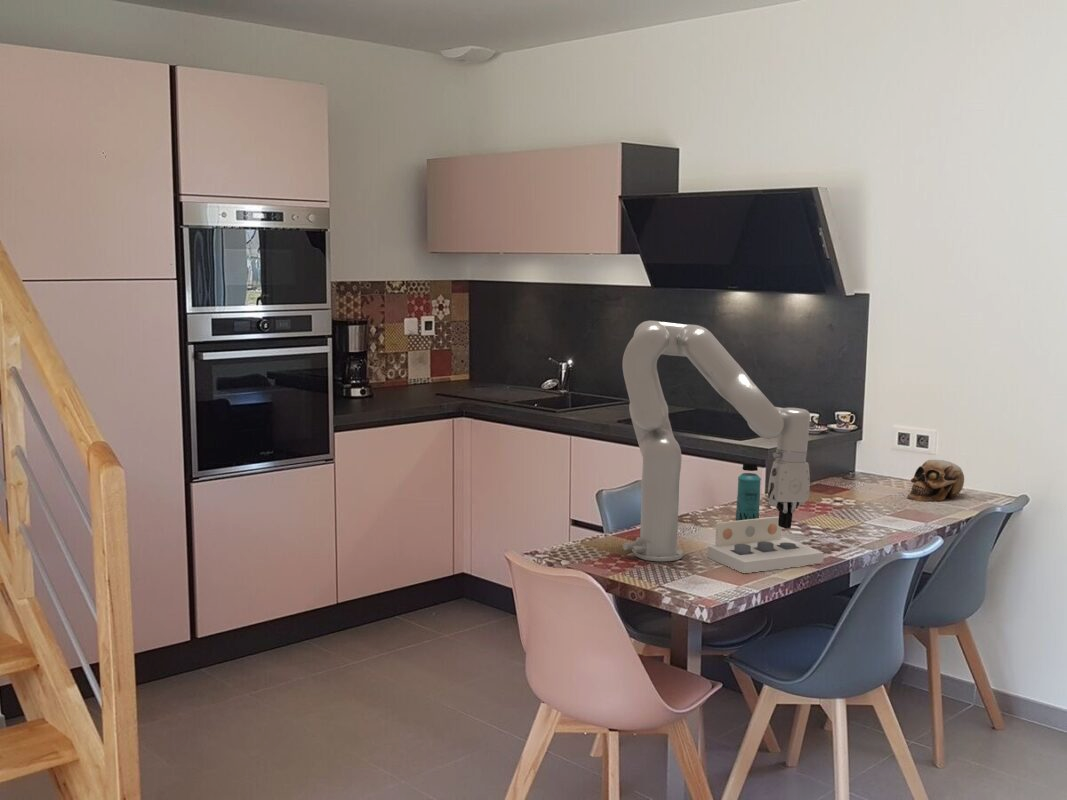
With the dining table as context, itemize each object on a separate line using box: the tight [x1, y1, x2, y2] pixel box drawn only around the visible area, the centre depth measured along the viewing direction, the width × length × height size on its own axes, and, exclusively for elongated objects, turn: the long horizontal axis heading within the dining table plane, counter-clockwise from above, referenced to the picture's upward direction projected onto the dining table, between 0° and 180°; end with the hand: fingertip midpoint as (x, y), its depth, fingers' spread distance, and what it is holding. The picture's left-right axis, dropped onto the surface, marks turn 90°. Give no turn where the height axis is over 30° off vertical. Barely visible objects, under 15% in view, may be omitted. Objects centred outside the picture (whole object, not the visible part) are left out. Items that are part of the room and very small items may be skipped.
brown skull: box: [906, 459, 965, 502], centre depth 351 cm, size 16×17×13 cm
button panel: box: [706, 515, 825, 574], centre depth 272 cm, size 24×16×9 cm, turn 114°
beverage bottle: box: [734, 461, 762, 521], centre depth 300 cm, size 6×7×20 cm
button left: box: [734, 544, 751, 555], centre depth 270 cm, size 4×4×3 cm
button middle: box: [757, 541, 774, 552], centre depth 272 cm, size 4×4×3 cm
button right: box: [780, 542, 796, 550], centre depth 275 cm, size 4×4×3 cm
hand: (784, 527), depth 275 cm, fingers closed
